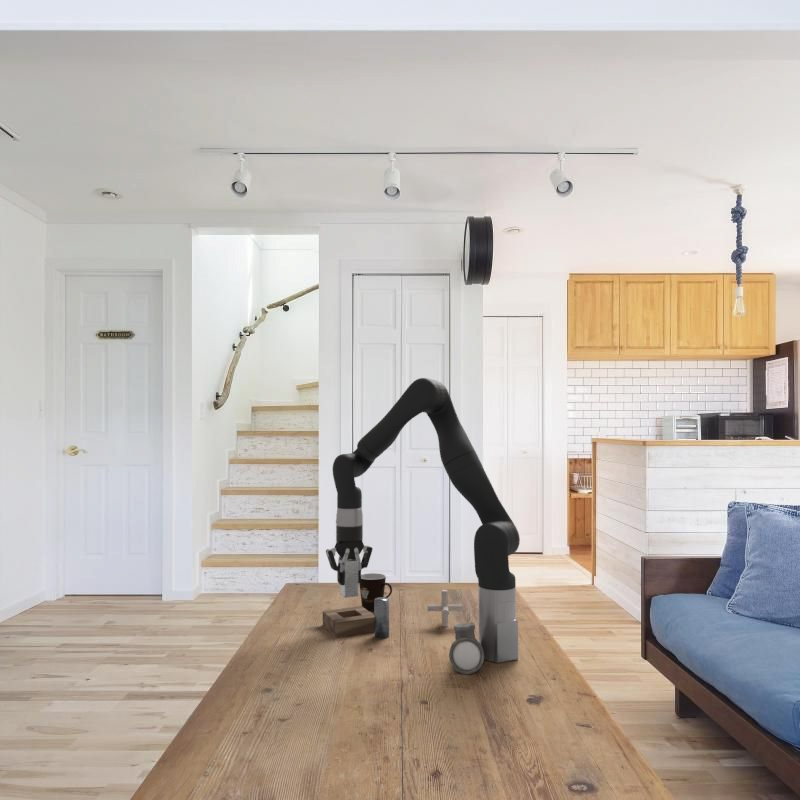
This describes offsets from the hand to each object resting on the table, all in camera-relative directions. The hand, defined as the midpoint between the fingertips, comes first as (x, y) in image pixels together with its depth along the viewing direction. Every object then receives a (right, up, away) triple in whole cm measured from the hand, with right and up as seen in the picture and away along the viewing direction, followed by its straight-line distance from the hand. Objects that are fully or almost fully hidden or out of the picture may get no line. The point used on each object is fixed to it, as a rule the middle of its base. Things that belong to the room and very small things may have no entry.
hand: (349, 583), depth 185 cm
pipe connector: (+27, -13, +1) cm, 30 cm away
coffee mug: (+6, -13, +18) cm, 23 cm away
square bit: (0, -3, 0) cm, 3 cm away
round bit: (+9, -12, -8) cm, 17 cm away
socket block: (0, -12, -1) cm, 12 cm away
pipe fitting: (+31, -12, -29) cm, 44 cm away
